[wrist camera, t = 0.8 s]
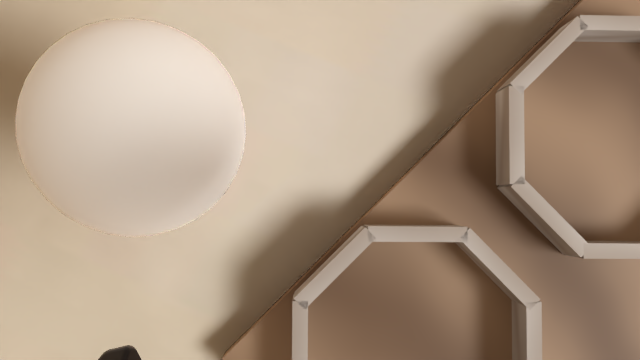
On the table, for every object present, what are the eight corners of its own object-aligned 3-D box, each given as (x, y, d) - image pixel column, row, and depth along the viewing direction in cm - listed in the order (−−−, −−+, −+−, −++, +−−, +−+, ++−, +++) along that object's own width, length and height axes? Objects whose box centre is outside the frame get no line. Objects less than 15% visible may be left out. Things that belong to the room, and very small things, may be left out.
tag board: (488, 623, 23) (511, 675, 20) (224, 352, 23) (215, 371, 20) (862, 224, 24) (927, 227, 21) (608, -29, 24) (643, -56, 22)
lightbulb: (191, 254, 23) (86, 301, 12) (94, 151, 23) (-96, 103, 12) (294, 158, 23) (284, 117, 12) (199, 56, 23) (105, -74, 12)
